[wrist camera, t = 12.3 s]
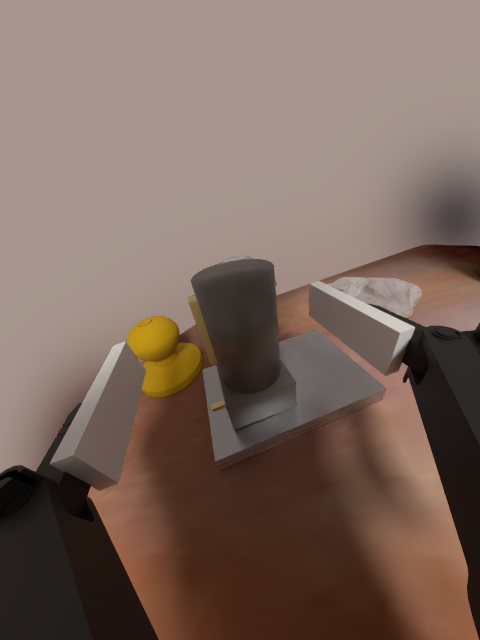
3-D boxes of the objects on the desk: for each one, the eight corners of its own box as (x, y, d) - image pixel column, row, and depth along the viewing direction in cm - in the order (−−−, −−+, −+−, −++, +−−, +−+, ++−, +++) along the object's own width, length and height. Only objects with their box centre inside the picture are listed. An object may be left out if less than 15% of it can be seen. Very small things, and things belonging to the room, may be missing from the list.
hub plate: (315, 338, 23) (315, 313, 21) (382, 399, 15) (393, 369, 13) (206, 378, 21) (195, 355, 19) (220, 470, 13) (205, 447, 11)
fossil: (390, 331, 17) (312, 273, 22) (358, 358, 23) (301, 306, 28) (442, 291, 19) (360, 247, 25) (402, 324, 25) (342, 282, 30)
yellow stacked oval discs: (128, 385, 23) (174, 343, 28) (170, 408, 19) (215, 354, 24) (89, 339, 19) (152, 301, 24) (132, 356, 15) (196, 305, 20)
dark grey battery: (269, 362, 19) (258, 253, 13) (296, 406, 15) (295, 272, 9) (218, 379, 18) (182, 271, 12) (230, 431, 14) (183, 301, 8)
